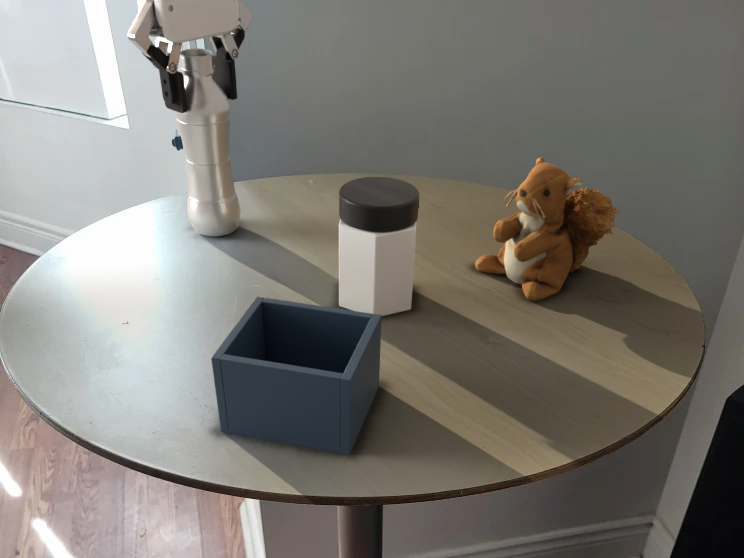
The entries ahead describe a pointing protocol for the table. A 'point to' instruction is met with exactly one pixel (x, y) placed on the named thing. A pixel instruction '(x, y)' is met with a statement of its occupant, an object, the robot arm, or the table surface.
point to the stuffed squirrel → (548, 230)
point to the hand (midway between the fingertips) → (201, 101)
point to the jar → (377, 244)
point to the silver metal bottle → (207, 147)
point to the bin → (298, 374)
